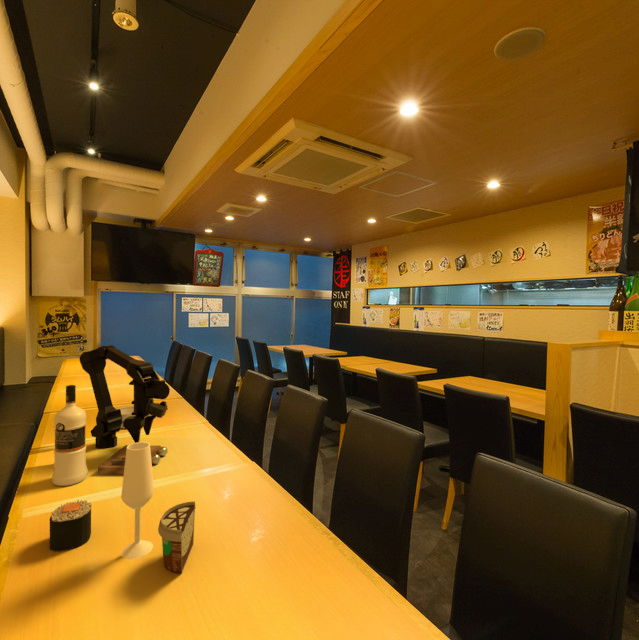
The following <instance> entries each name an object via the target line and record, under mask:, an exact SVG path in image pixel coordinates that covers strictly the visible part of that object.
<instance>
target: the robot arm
mask: <svg viewBox="0 0 639 640" xmlns="http://www.w3.org/2000/svg"><path fill="white" fill-rule="evenodd" d="M78 359H79V360H78V361H79V362H80V365H81V369H82V370H83V371H85V373H86V374H88V376H89V380H90V383H91V387H92V392H93V395H94V399H95V403H96V407H97V411H98V412H97V414H96V418H95V423H96V424H95V426H93V427H92V429H91V430H90V435H91V437H94V438H95V440H94V441H95V442H94V443H95V448H96V449H99V450H106V449H114V448H115V447H117V446H118V437H117V433H118V432H120V430H121V429H122V428H121V424H122V419H123V417H122V415H121V410H120V409H118V408H115V407H114V405H113V402H112V398H111V394H110V389H109V386H108V383H107V378H106V374H105V368H106V365H107V360H109V361H111V362H113V363H114V364H116V365H117V366H119V367H121V368H123V369H124V371H126V374H127V375H128V376H129V377H130V378H131V379H132V380H131V381H130V382H129V383H128V385H130V386H133V400H132V401H131V405H133V406H134V412H132V415H135V416H129V417H128V418H126V419H125V420H124V421H123V427H125V428H124V429H125V430H127V431H128V433H129V435H130V437H131V439H132V440H133V441H134V442H133V443H137V442H140V438H141V431H142V429H143V431H144V433H145V436H149V435H150V432H151V429H152V426H153V422H154V420H155V419H156V418H159V419H162V418H163V417H164V416H165V415H166V412H167V410H168V405H167V401H164V400H165V399H167V398H168V396H169V395H170V391H171V390H170V389H171V388H170V386H169V385H168V383H166V379H160V377H159V375H158V374H157V372H156V371H155V368H154V367H153V366H154V365H153V364H152V363H151V362H148V361H146V360H141V359H135V358H133V357H132V356H130V355H128V354H127V353H125V352H124V351H121V350H120V349H118V348H117V347H115V345H113V344H109V345H108V344H107V345H101V346H99V347H98V348H95V349H92V350H89V351H83V352H82V353H81V354H80V356H79V358H78ZM154 399H155V400H161V402H155V401H154Z"/></svg>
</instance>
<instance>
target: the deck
mask: <svg viewBox="0 0 639 640" xmlns="http://www.w3.org/2000/svg"><path fill="white" fill-rule="evenodd" d="M128 445H129V444H128ZM128 445H127V444H125V445H124V446H123V447H122V448H119V450H117V451H116V452H114V454H113V455H111V456H109V458H107V459H106V460H105V461H104V462H102V463H101V464H99V466H97V475H98V476H124V468H125V459H126V450H127V446H128ZM160 447H162V446H161V445H151V444H150V450H151V456H152V455H154V454H158V449H159V448H160Z"/></svg>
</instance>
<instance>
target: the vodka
mask: <svg viewBox="0 0 639 640" xmlns="http://www.w3.org/2000/svg"><path fill="white" fill-rule="evenodd" d="M76 389H77V387H76V385H75V384H69V385H66V386H65V406H64V407H63V408H61V409H60V410H59V411H57V412H56V413H55V415H54V418H53V422H54V423H53V424H54V425H53V428H54V451H53V454H54V455H53V456H54V463H53V464H54V465H53V473H52V476H51V482H52V483H53V485H56V486H58V487H68V486H74V485H77V484H78V483H81V482H83V481H84V480H86V478H87V477H88V475H89V470H88V467H87V460H86V459H87V457H86V453H87V452H86V451H87V445H86V424H87V413H86V411H85V409H83V408H81V407H79V406H77V405H76V399H77V398H76V395H77V394H76V391H77V390H76Z"/></svg>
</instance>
